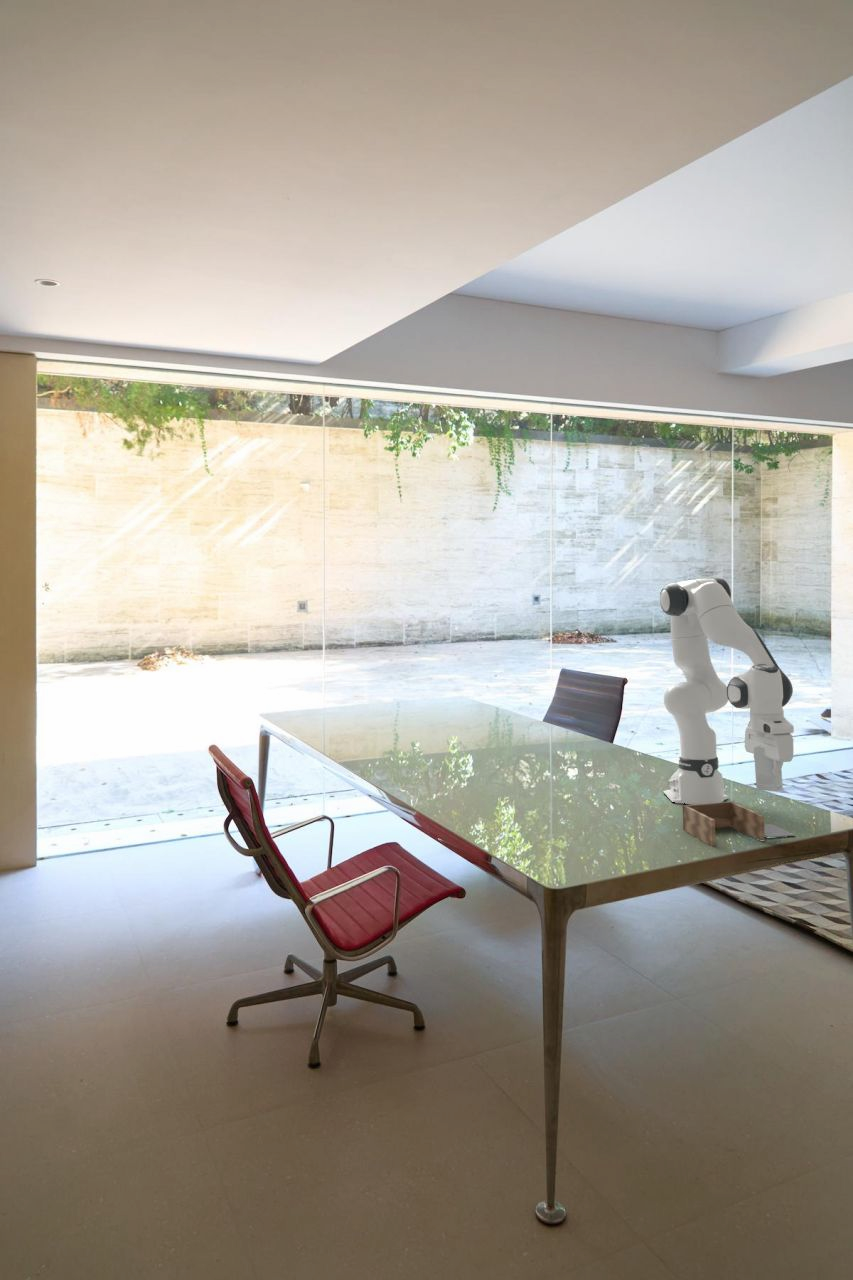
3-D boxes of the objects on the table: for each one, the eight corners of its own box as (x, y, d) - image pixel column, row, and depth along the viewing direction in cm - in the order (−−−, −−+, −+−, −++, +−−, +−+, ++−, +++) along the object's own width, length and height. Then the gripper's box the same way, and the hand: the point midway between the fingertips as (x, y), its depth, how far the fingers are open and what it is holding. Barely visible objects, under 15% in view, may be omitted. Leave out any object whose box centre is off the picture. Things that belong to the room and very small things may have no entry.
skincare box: (783, 789, 257) (781, 746, 257) (776, 792, 254) (775, 748, 253) (761, 787, 261) (760, 744, 261) (754, 790, 258) (753, 746, 258)
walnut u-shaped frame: (683, 829, 265) (682, 805, 265) (732, 825, 267) (732, 801, 267) (712, 846, 247) (711, 820, 247) (764, 841, 249) (763, 815, 249)
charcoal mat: (746, 828, 264) (746, 826, 264) (772, 826, 265) (772, 824, 265) (767, 838, 252) (767, 837, 252) (795, 836, 253) (795, 834, 253)
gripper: (738, 719, 267) (739, 767, 267) (775, 729, 246) (776, 780, 247) (758, 718, 268) (760, 765, 268) (797, 727, 247) (798, 778, 248)
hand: (768, 773), depth 257 cm, fingers closed on skincare box, 7 cm apart
